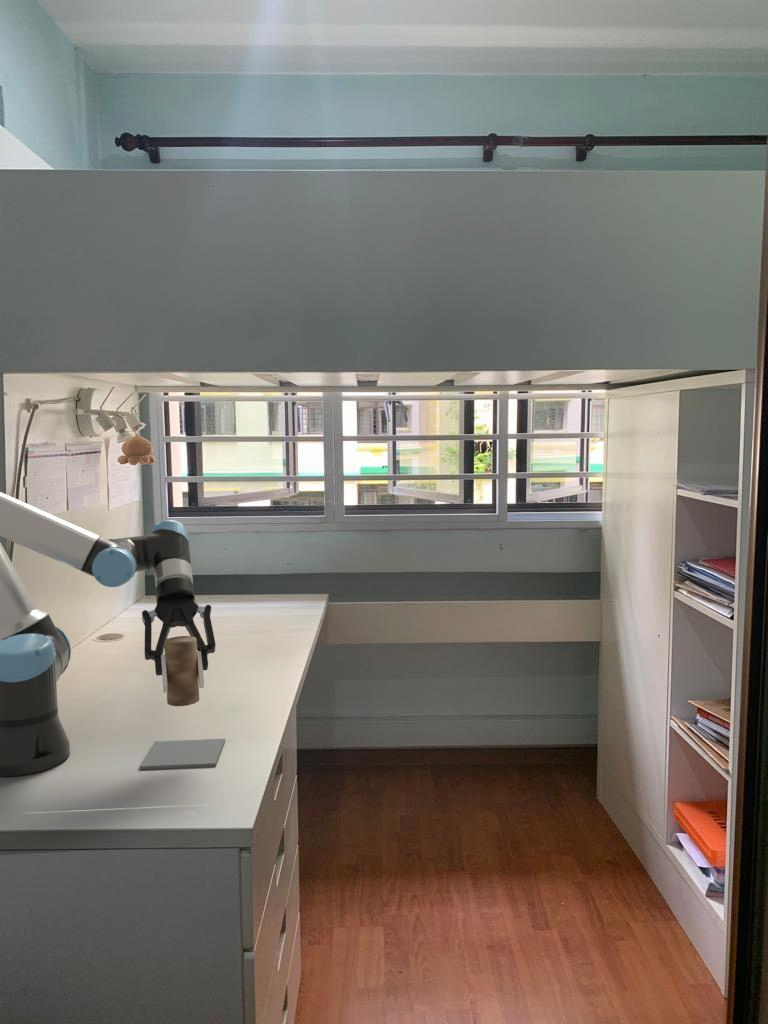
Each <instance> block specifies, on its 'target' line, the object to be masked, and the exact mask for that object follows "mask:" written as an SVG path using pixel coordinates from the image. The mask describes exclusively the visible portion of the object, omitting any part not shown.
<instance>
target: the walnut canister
mask: <svg viewBox="0 0 768 1024" xmlns="http://www.w3.org/2000/svg"><path fill="white" fill-rule="evenodd" d="M197 651H198V650H197V638H196V637H192V636H190V635H181V636H179V635H178V636H173V637H167V639H166V640H165V641H164V655H165V660H166V673H167V692H166V702H167V704H168V705H169V706H171V707H185V706H190V705H195V704H196V703H198V702H199V701H200V687H199V678H198V661H197Z"/></svg>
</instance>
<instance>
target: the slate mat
mask: <svg viewBox="0 0 768 1024" xmlns="http://www.w3.org/2000/svg"><path fill="white" fill-rule="evenodd" d="M225 743H226V738H210V739H207V738H206V739H186V740H184V739H183V740H181V739H178V740H157V741H156V740H155V741H154V742H153V744H152V745H151V747H150V749H149V750H148V752H147V754H146V755H145V757H144V758H143V760H142V761H141V762H140V765H139V770H159V769H182V768H183V769H185V768H186V769H187V768H207V767H208V768H209V767H217V764H218V763H219V762H218V761H219V759H220V756H221V754H222V750H223V748H224V746H225Z"/></svg>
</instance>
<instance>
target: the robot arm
mask: <svg viewBox="0 0 768 1024" xmlns="http://www.w3.org/2000/svg"><path fill="white" fill-rule="evenodd" d="M0 537H2V538H3V539H6V540H8V541H11V542H13V543H16V544H17V545H20V546H22V547H24V548H27V549H29V550H32V551H33V552H36V553H38V554H41V555H43V556H45V557H47V558H50V559H52V560H54V561H57V562H59V563H62V564H64V565H67V566H69V567H71V568H73V569H75V570H78V571H81V572H83V573H84V574H86V575H89V576H92V577H94V578H95V580H96V581H97V582H98V583H99V584H100V585H102V586H104V587H108V588H117V587H122V585H125V584H126V583H128V582H129V581H131V579H132V578H133V577H134V575H135V574H136V573H138V572H143V571H151V570H154V582H155V583H154V584H155V595H156V596H155V597H156V598H155V599H156V606H155V607H154V609H152V610H150V611H148V610H146V609H144V610H142V612H141V618H142V619H141V620H142V623H143V624H144V659H145V660H146V661H148V660H152V661H154V667H155V675H156V676H158V677H159V676H162V678H161V679H162V680H161V681H162V691H163V693H167V673H166V660H165V654H164V652H165V648H164V641H165V640H166V639H168V638H169V637H168V636H169V633H170V631H171V629H172V628H178V627H182V628H183V627H185V629H186V631H187V632H188V634H189V636H192V637H196V638H197V661H198V681H199V689H204V688H205V679H204V678H205V677H204V671H208V669H209V659H208V655H209V654H214V653H215V652H216V640H215V634H214V630H213V624H212V619H211V614H212V606H211V605H210V604H206V605H205V606H202V605H198V603H197V602H196V598H195V589H194V580H193V579H194V577H193V573H192V572H193V570H192V563H191V562H192V561H191V551H190V543H189V542H190V541H189V537H188V530H187V528H186V526H185V525H184V524H183V523H181V522H180V521H177V520H174V519H173V520H172V519H167V520H162V521H161V522H159V523H156V524H154V526H153V527H152V529H151V533H148V534H143V535H138V536H131V537H128V536H127V537H121V538H105V537H102V536H100V535H98V534H95V533H93V532H91V531H89V530H87V529H85V528H82V527H80V526H78V525H76V524H74V523H70V522H69V521H67V520H64V519H62V518H59V517H58V516H56V515H53V514H51V513H48V512H46V511H44V510H41V509H39V508H37V507H35V506H33V505H31V504H29V503H26V502H24V501H22V500H20V499H17V498H15V497H12V496H10V495H8V494H6V493H4V492H1V491H0ZM13 564H14V563H13V562H12V560H11V559H10V557H9V555H8V553H7V552H6V549H5V548H4V546H3V544H2V543H1V541H0V777H19V776H26V775H30V774H36V773H40V772H43V771H46V770H49V769H51V768H54V767H57V766H58V765H60V764H62V763H63V762H65V761H66V760H67V759H68V758H69V757H70V755H71V749H70V748H71V746H70V745H71V744H70V743H71V742H70V740H69V738H68V736H67V733H66V731H65V729H64V727H63V724H62V722H61V719H60V717H59V708H58V707H59V706H58V705H59V703H58V688H57V686H58V685H57V683H58V681H59V679H60V677H61V676H62V675H63V674H64V672H65V671H66V669H68V666H69V663H70V660H71V655H72V654H71V653H72V647H71V642H70V640H69V637H68V635H67V634H66V633H65V632H64V630H62V629H61V628H60V627H58V626H56V625H55V623H54V621H53V620H52V617H51V616H50V614H49V612H47V611H44V610H41V609H39V608H37V607H36V604H35V603H34V601H33V599H32V597H31V595H30V593H28V590H27V588H26V587H25V585H24V583H23V581H22V579H21V577H20V575H19V573H18V572H17V570H16V569H15V566H14V565H13ZM197 613H198V614H199V617H200V618H201V619H202V620H203V622H202V623H203V626H204V627H203V628H204V633H205V634H204V635H205V638H206V639H205V640H206V643H207V644H206V643H205V641H204V639H203V638H202V636H201V633H200V632H199V629H198V628H197V626H196V624H195V621H194V617H196V615H197ZM155 618H157V619H159V620H160V621H161V622H162V625H161V626H162V627H161V630H160V633H159V637H158V639H157V643H156V646H155V650H154V649H152V634H153V633H152V631H153V630H152V624H153V622H154V621H155Z"/></svg>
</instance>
